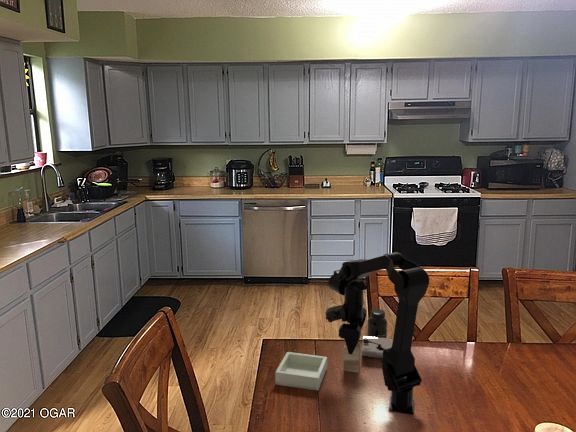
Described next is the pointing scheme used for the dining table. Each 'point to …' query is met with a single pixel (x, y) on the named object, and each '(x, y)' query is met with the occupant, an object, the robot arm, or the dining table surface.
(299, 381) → the bin
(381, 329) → the supplement bottle
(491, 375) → the dining table surface
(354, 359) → the birch block
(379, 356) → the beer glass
